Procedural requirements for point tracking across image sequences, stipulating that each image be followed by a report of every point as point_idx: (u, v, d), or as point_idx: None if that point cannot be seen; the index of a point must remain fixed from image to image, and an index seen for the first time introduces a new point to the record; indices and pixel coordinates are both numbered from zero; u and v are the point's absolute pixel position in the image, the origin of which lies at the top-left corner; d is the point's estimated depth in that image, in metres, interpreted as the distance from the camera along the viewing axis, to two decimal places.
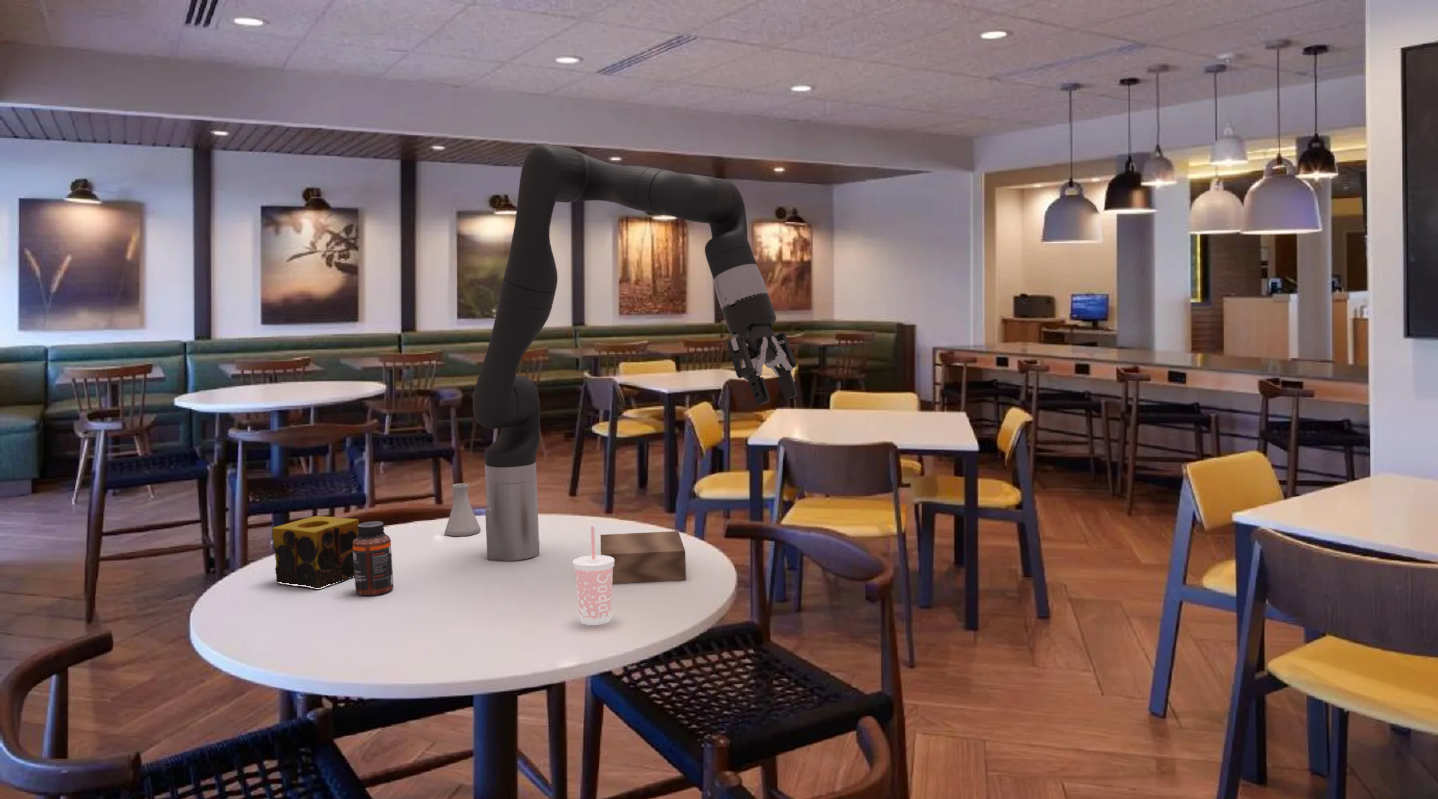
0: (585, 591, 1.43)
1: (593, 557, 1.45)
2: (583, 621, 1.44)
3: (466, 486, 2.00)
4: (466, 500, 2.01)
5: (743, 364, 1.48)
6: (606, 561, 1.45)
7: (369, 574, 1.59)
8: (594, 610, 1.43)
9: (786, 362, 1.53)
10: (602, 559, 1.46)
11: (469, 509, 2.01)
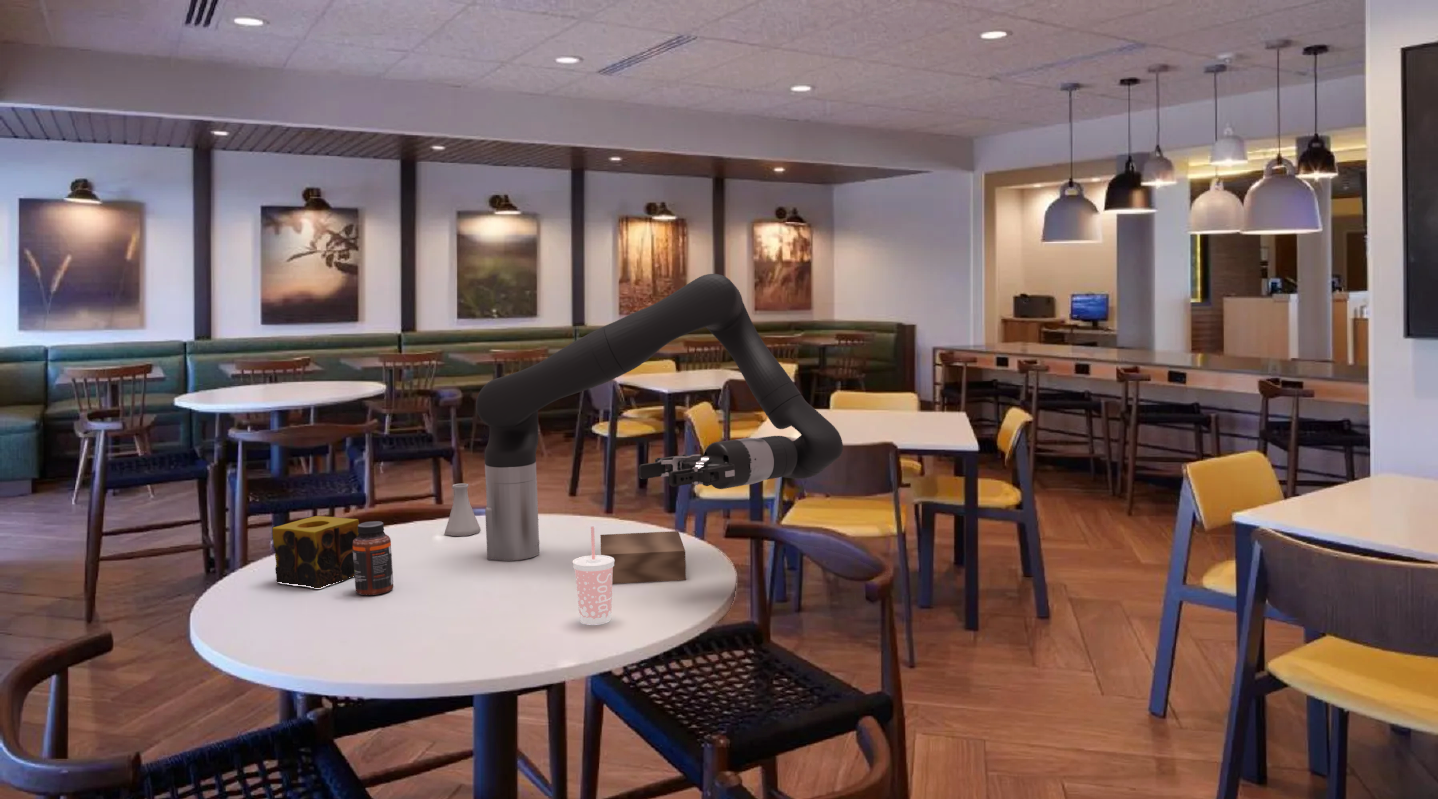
0: (585, 591, 1.43)
1: (593, 557, 1.45)
2: (583, 621, 1.44)
3: (466, 486, 2.00)
4: (466, 500, 2.01)
5: (704, 464, 1.51)
6: (606, 561, 1.45)
7: (369, 574, 1.59)
8: (593, 610, 1.43)
9: (669, 475, 1.57)
10: (602, 559, 1.46)
11: (469, 509, 2.01)
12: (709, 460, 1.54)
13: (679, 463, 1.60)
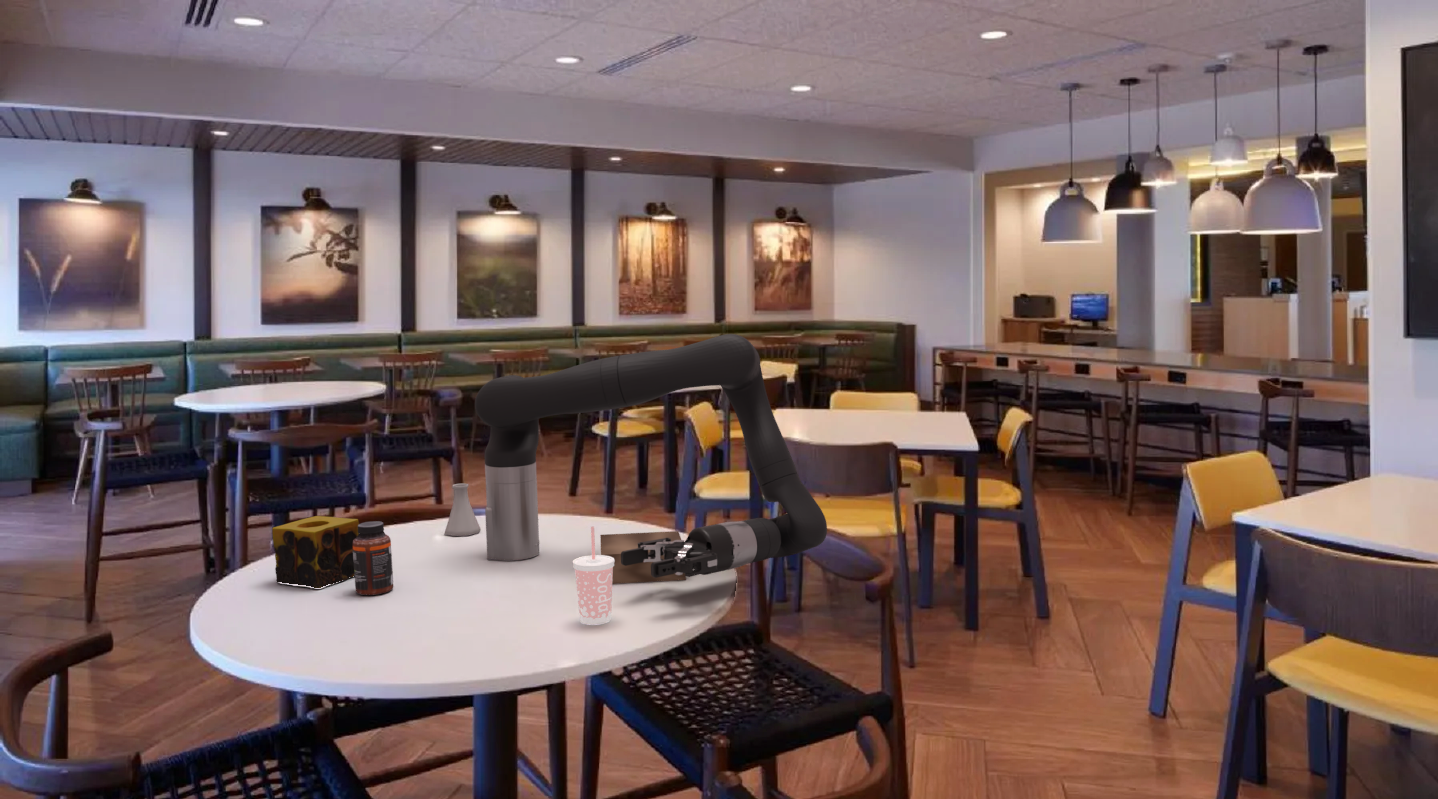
0: (585, 591, 1.43)
1: (593, 557, 1.45)
2: (583, 621, 1.44)
3: (466, 486, 2.00)
4: (466, 500, 2.01)
5: (686, 553, 1.50)
6: (606, 561, 1.45)
7: (369, 574, 1.59)
8: (594, 610, 1.43)
9: None
10: (602, 559, 1.46)
11: (469, 509, 2.01)
12: (692, 547, 1.53)
13: (662, 547, 1.59)
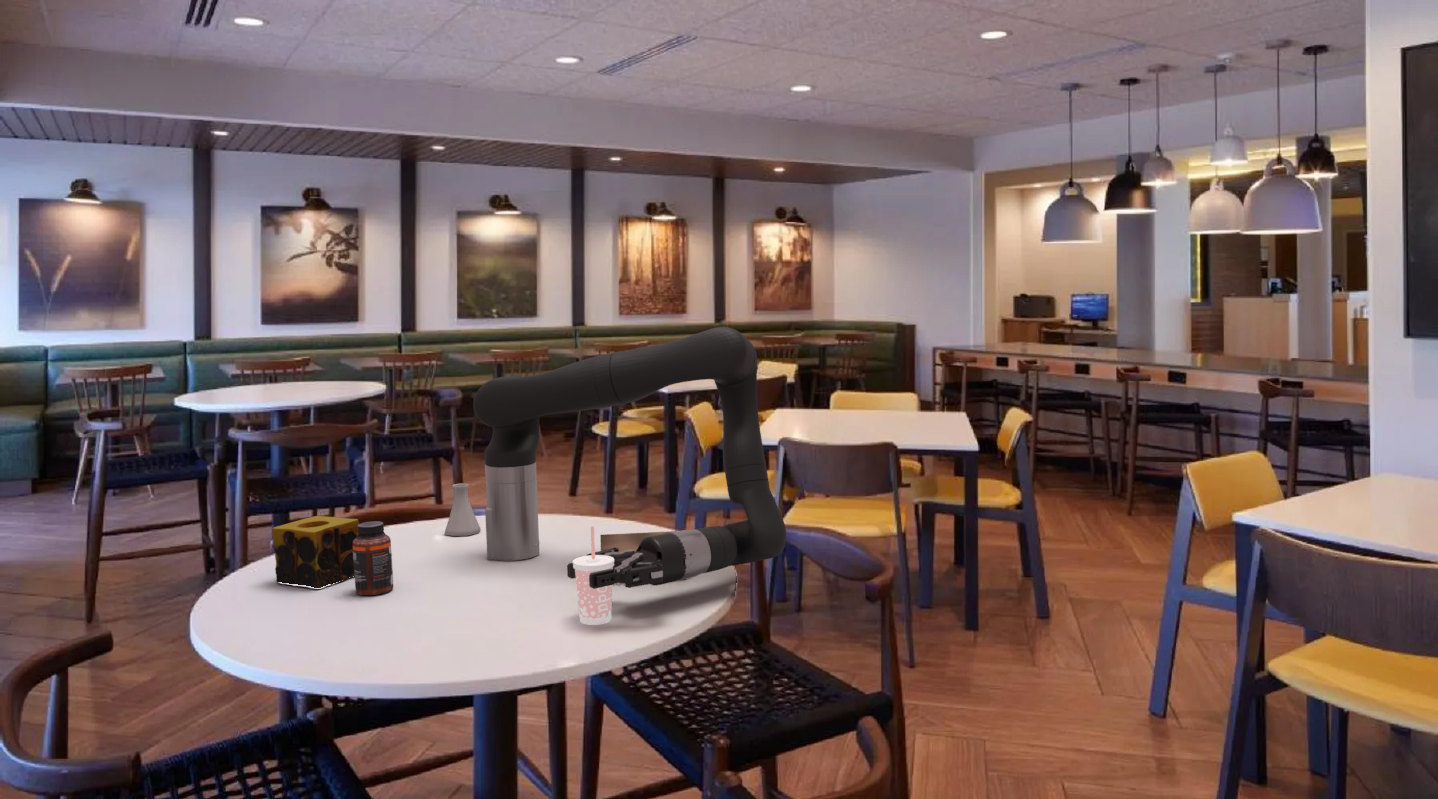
0: (585, 591, 1.43)
1: (593, 557, 1.45)
2: (583, 621, 1.44)
3: (466, 486, 2.00)
4: (466, 500, 2.01)
5: (630, 563, 1.45)
6: (606, 561, 1.45)
7: (369, 574, 1.59)
8: (593, 609, 1.43)
9: None
10: (602, 559, 1.46)
11: (469, 509, 2.01)
12: (640, 558, 1.48)
13: None
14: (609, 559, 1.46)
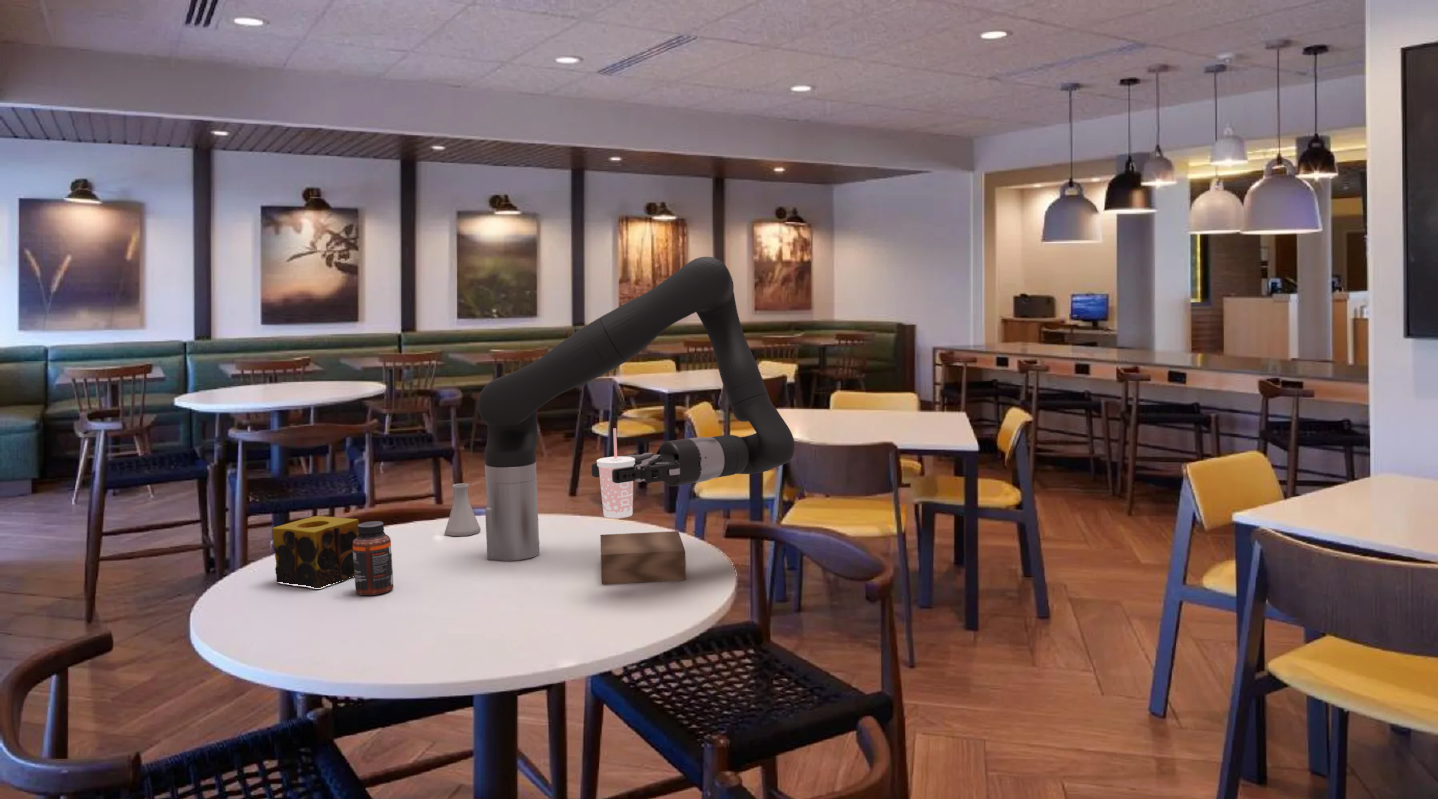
0: (608, 487, 1.56)
1: (615, 456, 1.57)
2: (607, 515, 1.57)
3: (466, 486, 2.00)
4: (466, 500, 2.01)
5: (649, 462, 1.57)
6: (627, 460, 1.57)
7: (369, 574, 1.59)
8: (616, 504, 1.56)
9: None
10: (624, 459, 1.58)
11: (469, 509, 2.01)
12: (659, 458, 1.60)
13: None
14: (630, 459, 1.58)
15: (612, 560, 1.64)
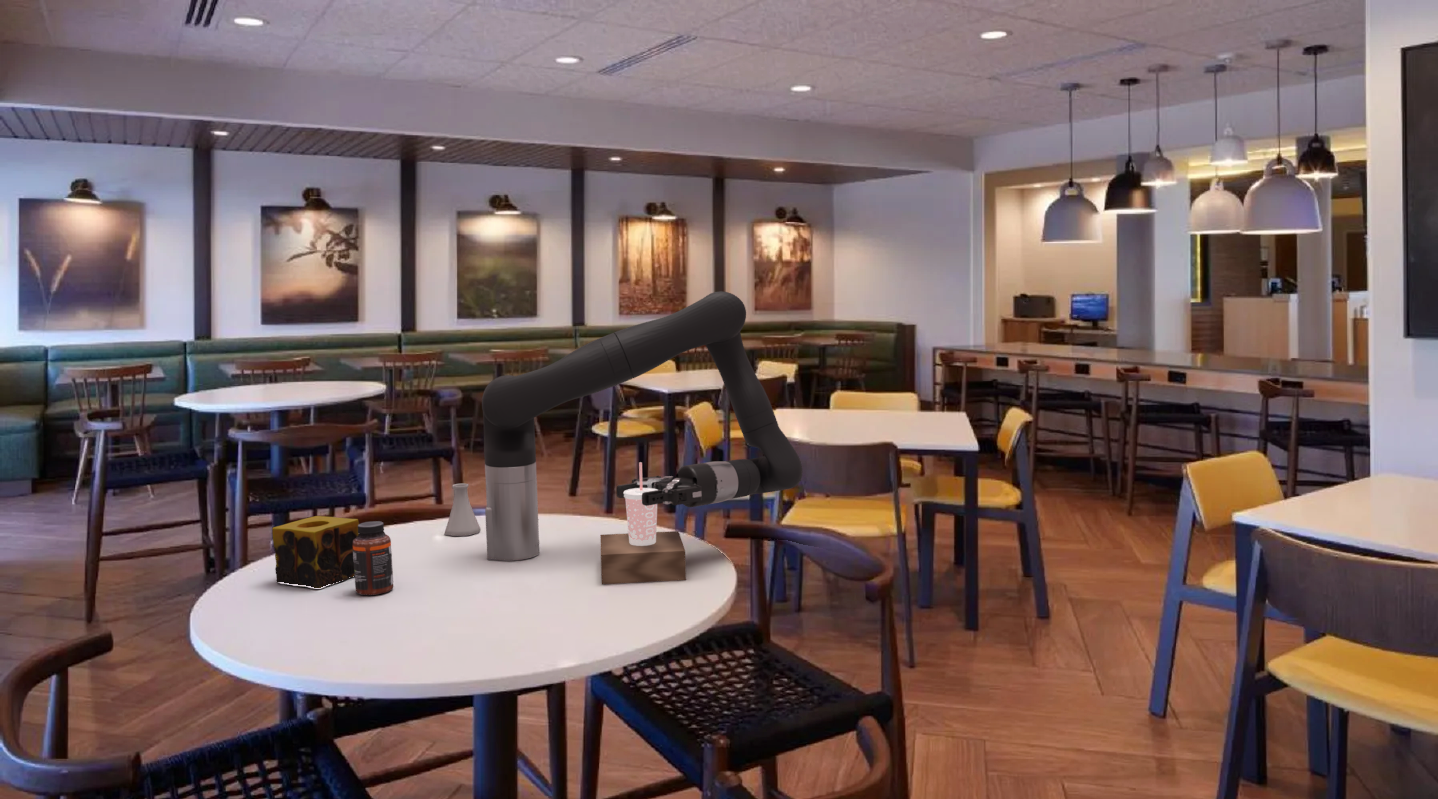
0: (634, 517, 1.68)
1: (641, 488, 1.70)
2: (632, 543, 1.69)
3: (466, 486, 2.00)
4: (466, 500, 2.01)
5: (674, 485, 1.70)
6: None
7: (369, 574, 1.59)
8: (642, 532, 1.68)
9: None
10: (648, 490, 1.71)
11: (469, 509, 2.01)
12: (679, 482, 1.73)
13: (653, 483, 1.78)
14: None
15: (612, 560, 1.64)
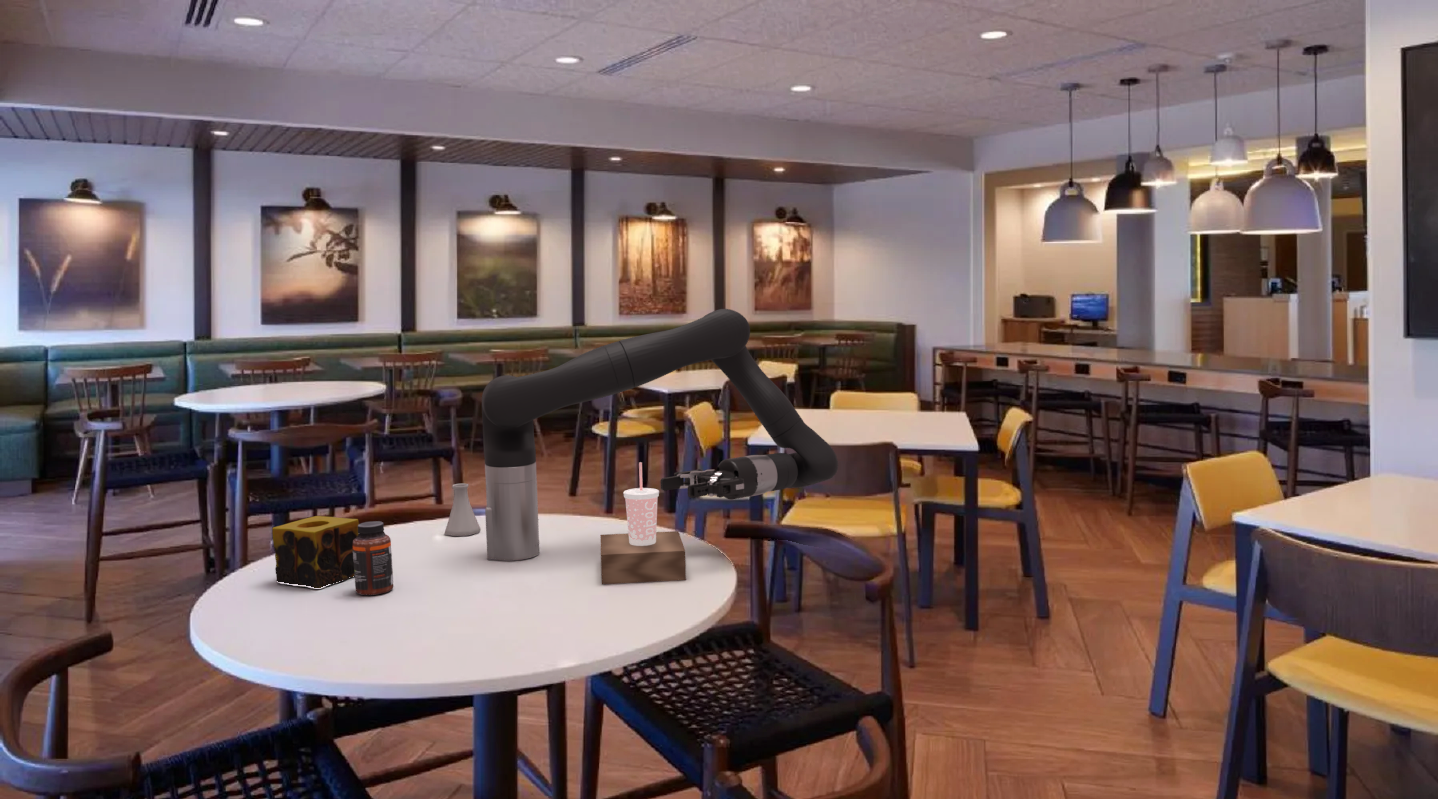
0: (634, 517, 1.68)
1: (641, 488, 1.70)
2: (632, 543, 1.69)
3: (466, 486, 2.00)
4: (466, 500, 2.01)
5: (717, 478, 1.75)
6: (652, 492, 1.70)
7: (369, 574, 1.59)
8: (642, 532, 1.68)
9: (686, 487, 1.81)
10: (648, 490, 1.71)
11: (469, 509, 2.01)
12: (722, 475, 1.78)
13: (695, 477, 1.84)
14: (654, 491, 1.71)
15: (612, 560, 1.64)
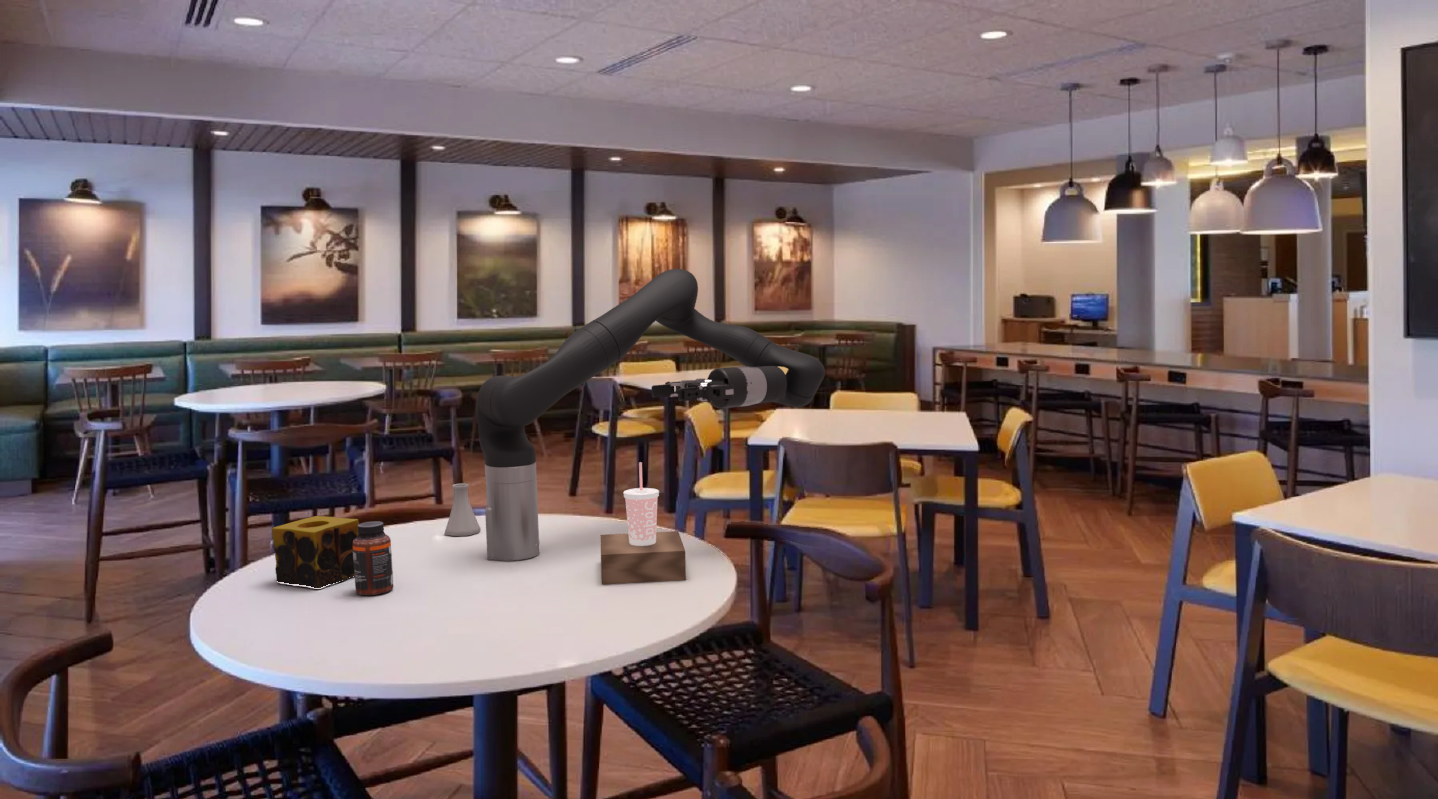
0: (634, 517, 1.68)
1: (641, 488, 1.70)
2: (632, 543, 1.69)
3: (466, 486, 2.00)
4: (466, 500, 2.01)
5: (707, 384, 1.78)
6: (652, 492, 1.70)
7: (369, 574, 1.59)
8: (642, 532, 1.68)
9: None
10: (648, 490, 1.71)
11: (469, 509, 2.01)
12: (712, 382, 1.81)
13: (686, 386, 1.86)
14: (654, 491, 1.71)
15: (612, 560, 1.64)
